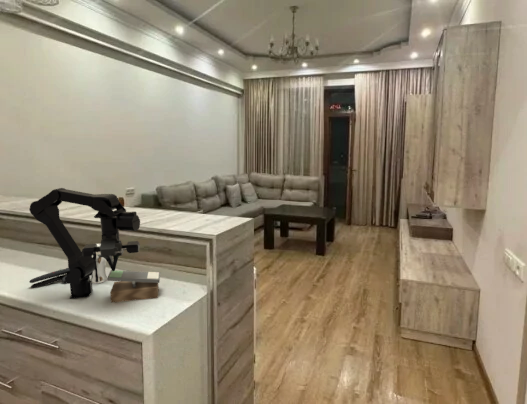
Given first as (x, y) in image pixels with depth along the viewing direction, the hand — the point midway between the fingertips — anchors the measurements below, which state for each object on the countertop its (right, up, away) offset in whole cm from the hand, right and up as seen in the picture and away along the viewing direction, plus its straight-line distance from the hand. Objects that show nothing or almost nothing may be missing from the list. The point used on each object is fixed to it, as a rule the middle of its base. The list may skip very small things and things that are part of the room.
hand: (113, 270), depth 130 cm
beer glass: (-13, -7, +16) cm, 22 cm away
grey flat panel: (+7, -3, +2) cm, 8 cm away
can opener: (-29, -8, +14) cm, 34 cm away
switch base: (+7, -10, +4) cm, 12 cm away
